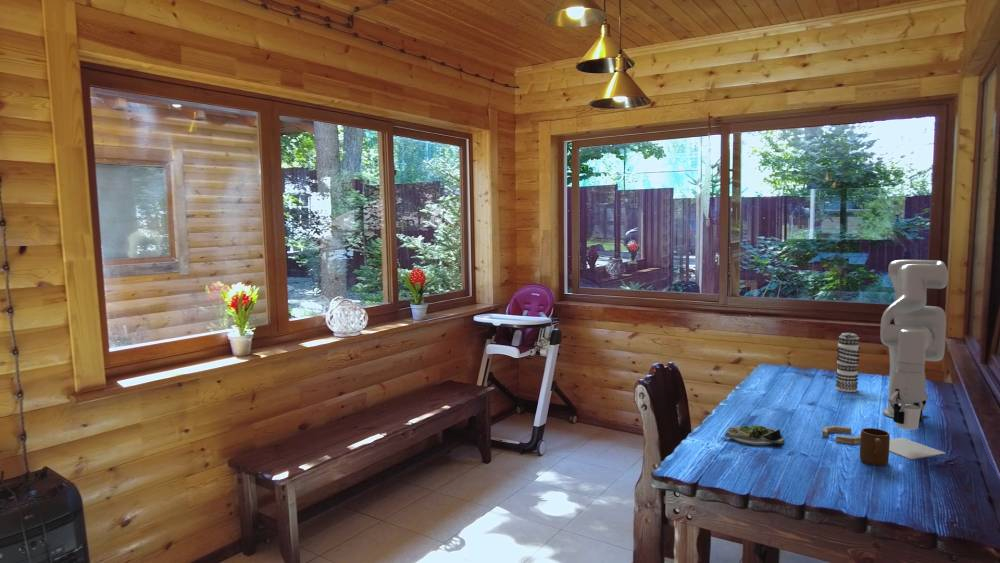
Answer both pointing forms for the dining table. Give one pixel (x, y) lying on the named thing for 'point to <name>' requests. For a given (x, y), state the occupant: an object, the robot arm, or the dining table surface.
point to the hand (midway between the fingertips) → (907, 421)
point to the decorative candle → (847, 362)
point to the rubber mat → (911, 449)
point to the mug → (874, 446)
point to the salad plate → (755, 435)
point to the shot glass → (910, 417)
